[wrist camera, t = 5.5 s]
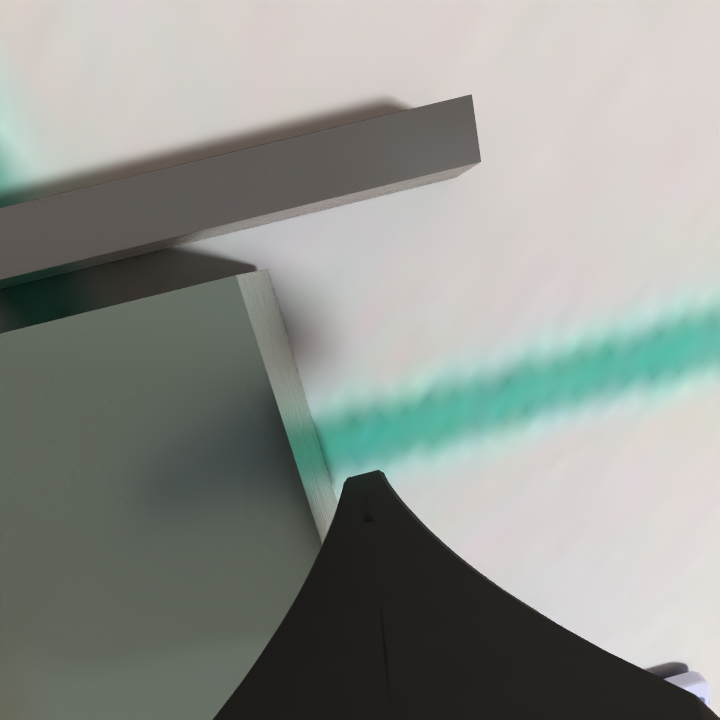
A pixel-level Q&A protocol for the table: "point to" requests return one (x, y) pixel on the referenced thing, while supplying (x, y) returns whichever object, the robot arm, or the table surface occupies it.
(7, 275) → the vise body
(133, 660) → the sliding jaw
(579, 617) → the table surface
